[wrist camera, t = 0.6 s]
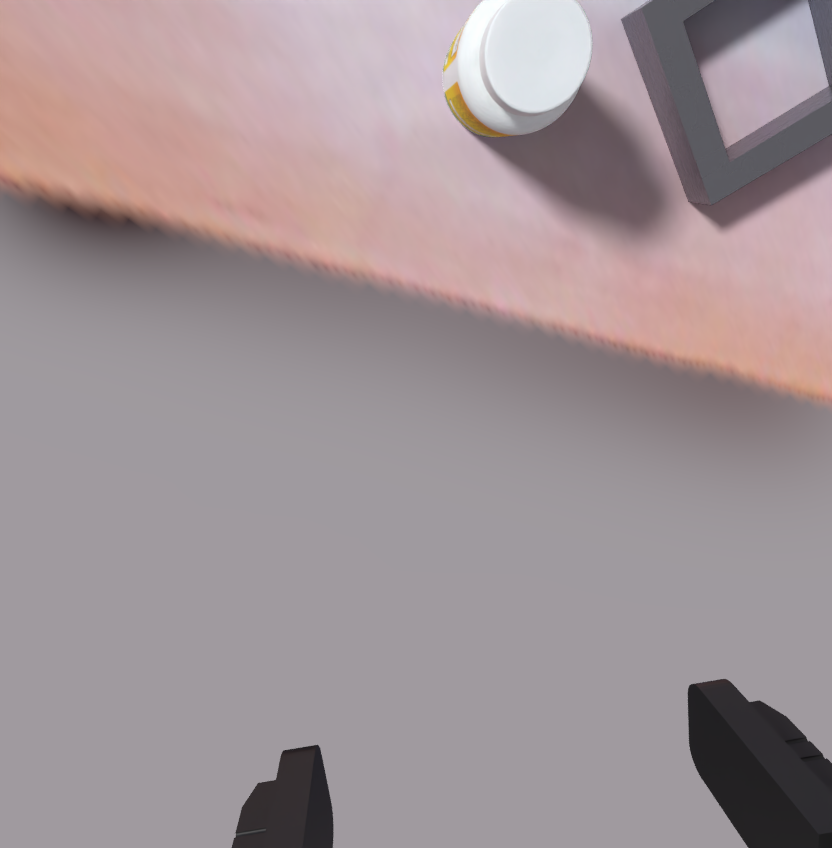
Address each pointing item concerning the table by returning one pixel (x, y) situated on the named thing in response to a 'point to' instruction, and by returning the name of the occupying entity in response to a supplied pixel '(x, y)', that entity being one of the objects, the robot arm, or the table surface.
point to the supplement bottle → (517, 65)
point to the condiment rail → (691, 110)
